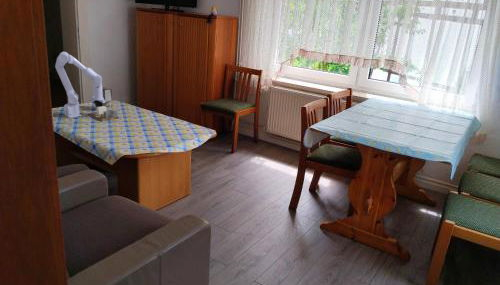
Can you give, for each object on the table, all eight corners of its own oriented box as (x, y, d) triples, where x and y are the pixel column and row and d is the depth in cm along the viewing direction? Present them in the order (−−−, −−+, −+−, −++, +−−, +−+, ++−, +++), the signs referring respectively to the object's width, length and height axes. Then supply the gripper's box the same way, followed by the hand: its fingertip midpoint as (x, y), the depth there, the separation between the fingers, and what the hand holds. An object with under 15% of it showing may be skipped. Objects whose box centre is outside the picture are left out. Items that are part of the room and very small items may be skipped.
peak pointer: (99, 117, 270) (99, 114, 269) (99, 117, 270) (99, 114, 269) (102, 117, 271) (102, 113, 271) (102, 117, 272) (101, 113, 271)
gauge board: (102, 121, 268) (101, 113, 266) (88, 115, 278) (87, 107, 276) (118, 118, 278) (118, 110, 276) (104, 112, 288) (104, 104, 286)
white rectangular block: (95, 115, 274) (95, 108, 272) (93, 114, 275) (92, 107, 274) (106, 113, 280) (106, 107, 279) (104, 112, 282) (104, 106, 280)
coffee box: (112, 109, 297) (112, 89, 292) (105, 111, 292) (104, 90, 287) (104, 107, 302) (104, 87, 296) (97, 108, 296) (96, 88, 291)
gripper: (109, 93, 274) (109, 112, 279) (97, 89, 283) (98, 107, 287) (99, 94, 269) (100, 113, 274) (88, 90, 278) (89, 109, 282)
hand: (98, 110), depth 280 cm, fingers closed
